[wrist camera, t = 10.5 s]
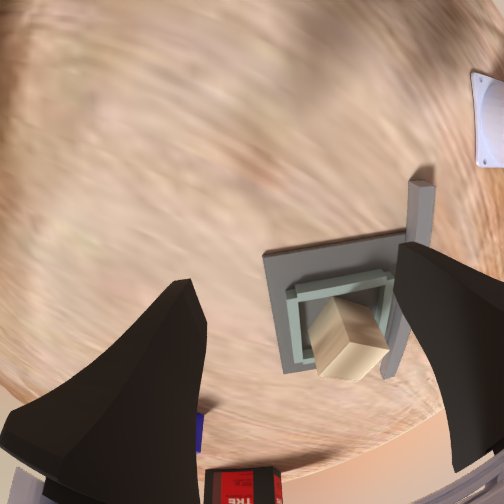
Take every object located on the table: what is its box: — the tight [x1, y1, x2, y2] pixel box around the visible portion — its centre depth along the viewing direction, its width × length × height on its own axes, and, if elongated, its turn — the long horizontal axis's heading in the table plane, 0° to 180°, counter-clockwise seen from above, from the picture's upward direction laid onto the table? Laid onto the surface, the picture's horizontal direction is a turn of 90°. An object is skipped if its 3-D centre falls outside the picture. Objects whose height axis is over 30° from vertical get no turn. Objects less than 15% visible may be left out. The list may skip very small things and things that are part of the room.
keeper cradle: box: [262, 232, 406, 374], centre depth 21 cm, size 11×14×2 cm
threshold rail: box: [380, 180, 435, 380], centre depth 21 cm, size 2×22×2 cm, turn 11°
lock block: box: [308, 296, 390, 381], centre depth 20 cm, size 4×4×5 cm
